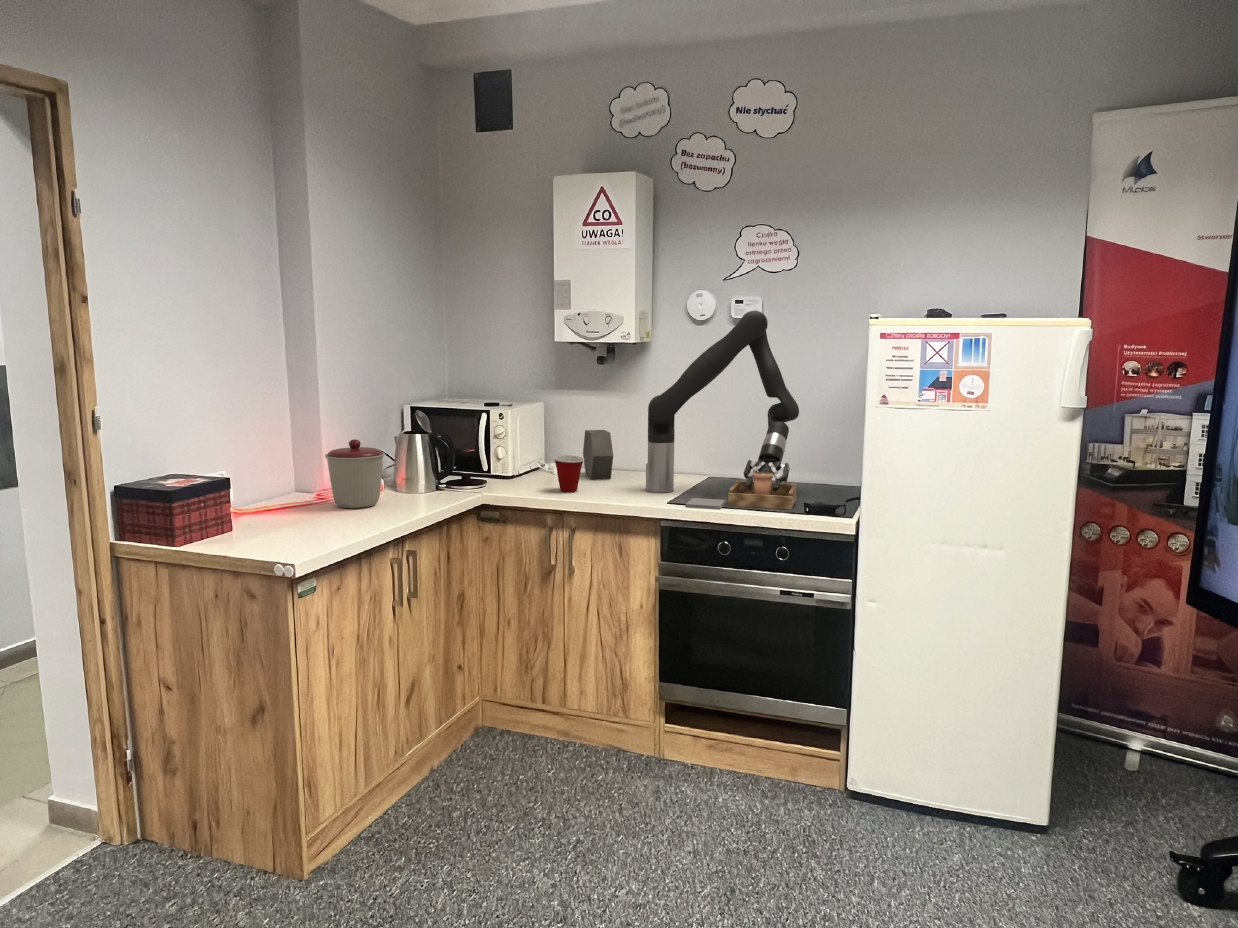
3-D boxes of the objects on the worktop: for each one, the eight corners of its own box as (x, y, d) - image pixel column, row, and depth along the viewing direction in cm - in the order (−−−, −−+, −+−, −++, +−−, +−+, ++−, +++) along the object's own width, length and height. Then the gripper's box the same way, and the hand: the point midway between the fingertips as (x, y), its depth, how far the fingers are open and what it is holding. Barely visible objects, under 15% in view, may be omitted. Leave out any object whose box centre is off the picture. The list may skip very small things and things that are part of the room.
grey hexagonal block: (615, 469, 323) (608, 419, 331) (594, 469, 321) (588, 420, 329) (606, 487, 337) (600, 439, 346) (587, 488, 336) (581, 440, 344)
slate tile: (685, 507, 276) (685, 504, 276) (692, 500, 287) (692, 498, 287) (719, 509, 273) (720, 506, 273) (725, 502, 284) (725, 499, 284)
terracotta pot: (750, 504, 281) (751, 474, 279) (753, 501, 287) (754, 471, 285) (771, 506, 279) (772, 475, 278) (773, 502, 285) (774, 472, 284)
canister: (396, 501, 282) (394, 437, 279) (368, 512, 265) (366, 443, 262) (346, 499, 286) (343, 435, 283) (315, 509, 269) (312, 441, 266)
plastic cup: (566, 495, 296) (566, 460, 294) (547, 490, 304) (546, 456, 302) (591, 491, 303) (591, 457, 301) (571, 487, 311) (571, 454, 309)
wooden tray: (728, 505, 279) (728, 488, 278) (735, 497, 294) (736, 480, 293) (791, 509, 273) (792, 492, 273) (795, 500, 289) (796, 484, 288)
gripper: (749, 441, 290) (738, 480, 281) (792, 444, 284) (781, 484, 275) (754, 455, 295) (742, 494, 287) (795, 458, 289) (785, 497, 281)
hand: (761, 489), depth 281 cm, fingers open, 8 cm apart
